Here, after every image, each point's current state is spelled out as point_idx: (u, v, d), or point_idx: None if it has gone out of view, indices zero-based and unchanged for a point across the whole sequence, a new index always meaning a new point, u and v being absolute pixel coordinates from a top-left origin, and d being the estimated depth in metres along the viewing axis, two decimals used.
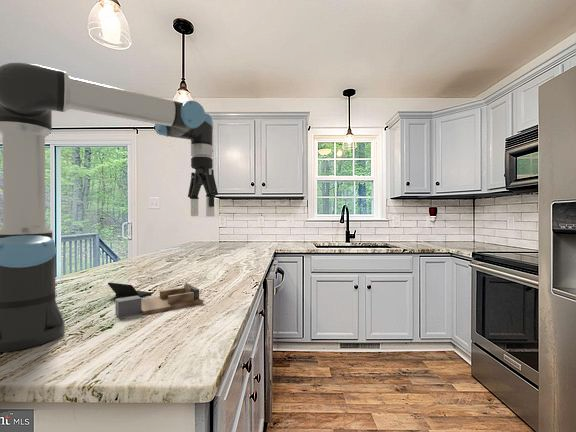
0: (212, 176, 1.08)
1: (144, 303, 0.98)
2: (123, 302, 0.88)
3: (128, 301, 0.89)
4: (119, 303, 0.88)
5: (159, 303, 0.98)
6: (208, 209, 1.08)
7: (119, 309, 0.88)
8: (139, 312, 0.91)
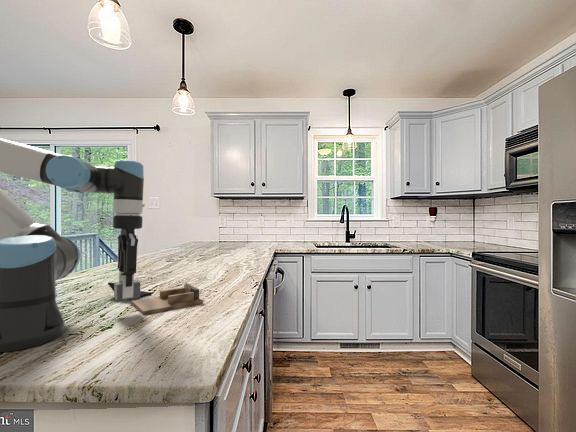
0: (134, 248, 0.86)
1: (144, 303, 0.98)
2: None
3: None
4: (118, 286, 0.88)
5: (159, 303, 0.98)
6: (125, 290, 0.88)
7: (118, 292, 0.88)
8: (138, 296, 0.91)
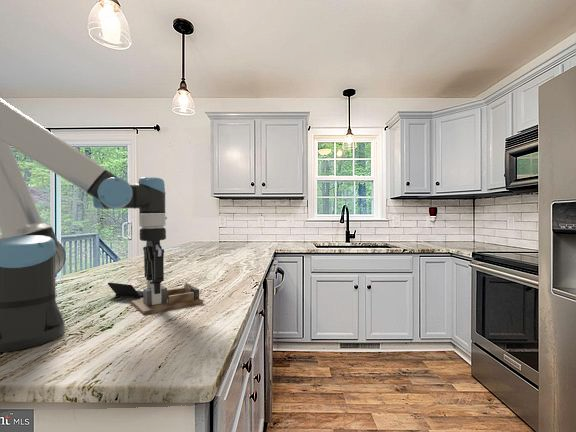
0: (161, 258, 0.94)
1: None
2: None
3: None
4: (147, 292, 0.95)
5: None
6: (154, 297, 0.96)
7: (147, 298, 0.95)
8: (165, 301, 0.98)
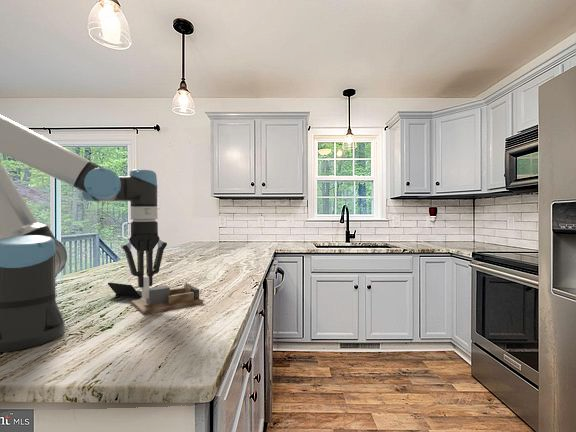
0: (126, 254, 0.93)
1: (144, 303, 0.98)
2: (154, 291, 0.96)
3: (158, 290, 0.97)
4: (150, 292, 0.96)
5: None
6: (142, 290, 0.96)
7: (150, 297, 0.96)
8: None
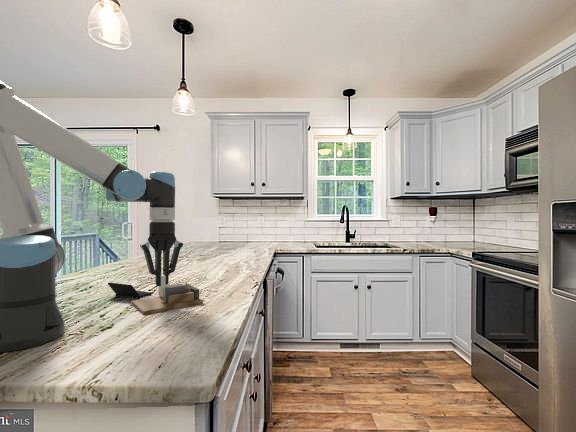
0: (145, 253, 0.96)
1: (144, 303, 0.98)
2: (170, 289, 0.99)
3: (174, 288, 1.00)
4: (166, 289, 0.99)
5: (159, 303, 0.98)
6: (159, 288, 1.00)
7: (166, 295, 0.99)
8: None
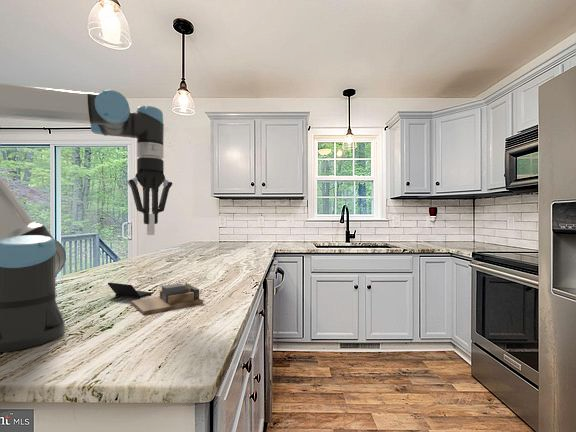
0: (133, 189, 0.94)
1: (144, 303, 0.98)
2: (170, 288, 0.99)
3: (174, 288, 1.00)
4: (166, 289, 0.99)
5: (159, 303, 0.98)
6: (147, 227, 0.97)
7: (166, 295, 0.99)
8: None
